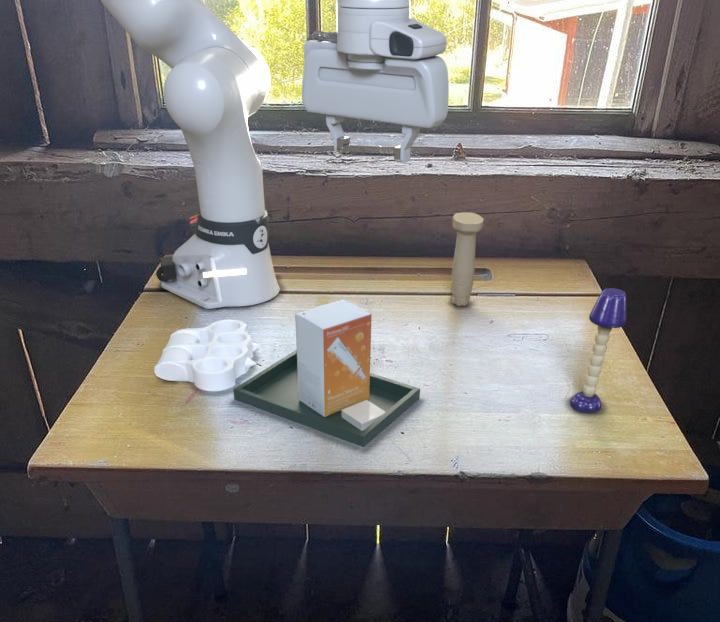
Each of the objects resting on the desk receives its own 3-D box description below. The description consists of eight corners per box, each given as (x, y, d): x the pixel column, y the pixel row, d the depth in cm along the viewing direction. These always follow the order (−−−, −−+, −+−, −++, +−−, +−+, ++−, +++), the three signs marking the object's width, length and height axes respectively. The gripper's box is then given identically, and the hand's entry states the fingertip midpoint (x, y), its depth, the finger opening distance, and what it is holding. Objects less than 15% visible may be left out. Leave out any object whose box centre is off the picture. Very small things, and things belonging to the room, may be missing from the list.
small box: (324, 419, 97) (322, 329, 90) (297, 400, 101) (293, 312, 93) (371, 400, 101) (372, 312, 94) (343, 382, 105) (342, 297, 98)
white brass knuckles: (177, 337, 118) (267, 338, 118) (150, 393, 104) (253, 394, 103) (174, 318, 116) (265, 319, 116) (146, 372, 102) (251, 373, 101)
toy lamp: (577, 393, 104) (601, 281, 94) (609, 402, 102) (637, 289, 92) (565, 407, 101) (589, 293, 91) (598, 417, 99) (626, 302, 89)
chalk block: (341, 417, 98) (341, 409, 97) (366, 406, 100) (366, 399, 99) (361, 431, 95) (361, 423, 94) (387, 420, 97) (387, 412, 96)
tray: (234, 402, 102) (232, 389, 100) (297, 361, 112) (296, 349, 110) (363, 450, 92) (363, 436, 91) (419, 401, 102) (420, 388, 101)
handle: (450, 310, 127) (457, 224, 118) (443, 296, 132) (450, 212, 123) (477, 310, 128) (486, 223, 119) (469, 295, 133) (478, 212, 124)
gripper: (289, 31, 90) (294, 150, 99) (433, 42, 81) (426, 172, 90) (318, 27, 95) (321, 142, 103) (459, 38, 86) (449, 162, 94)
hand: (371, 156), depth 96 cm, fingers open, 8 cm apart
